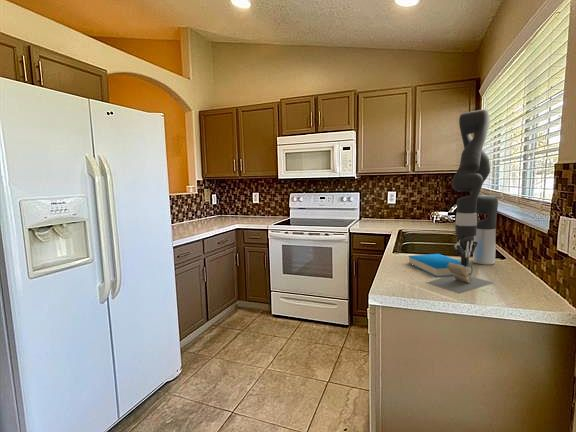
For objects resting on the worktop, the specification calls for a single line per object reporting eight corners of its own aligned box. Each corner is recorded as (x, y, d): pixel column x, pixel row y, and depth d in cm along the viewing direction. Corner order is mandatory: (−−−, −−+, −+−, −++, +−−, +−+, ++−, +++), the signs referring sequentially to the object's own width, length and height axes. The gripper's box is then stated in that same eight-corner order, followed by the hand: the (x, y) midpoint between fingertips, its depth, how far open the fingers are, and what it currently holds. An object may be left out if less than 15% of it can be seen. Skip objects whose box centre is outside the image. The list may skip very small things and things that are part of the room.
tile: (458, 275, 137) (449, 261, 133) (472, 279, 132) (463, 265, 128) (455, 279, 136) (447, 266, 133) (469, 283, 131) (460, 269, 127)
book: (436, 268, 140) (407, 255, 165) (436, 277, 141) (407, 263, 165) (473, 265, 142) (439, 252, 167) (473, 274, 143) (439, 261, 167)
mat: (459, 274, 144) (459, 273, 144) (494, 284, 131) (494, 282, 131) (425, 284, 134) (425, 282, 134) (459, 295, 121) (459, 293, 121)
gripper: (467, 221, 137) (466, 261, 139) (446, 224, 131) (445, 266, 133) (485, 223, 131) (483, 265, 133) (464, 226, 125) (463, 270, 127)
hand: (464, 265), depth 133 cm, fingers closed
